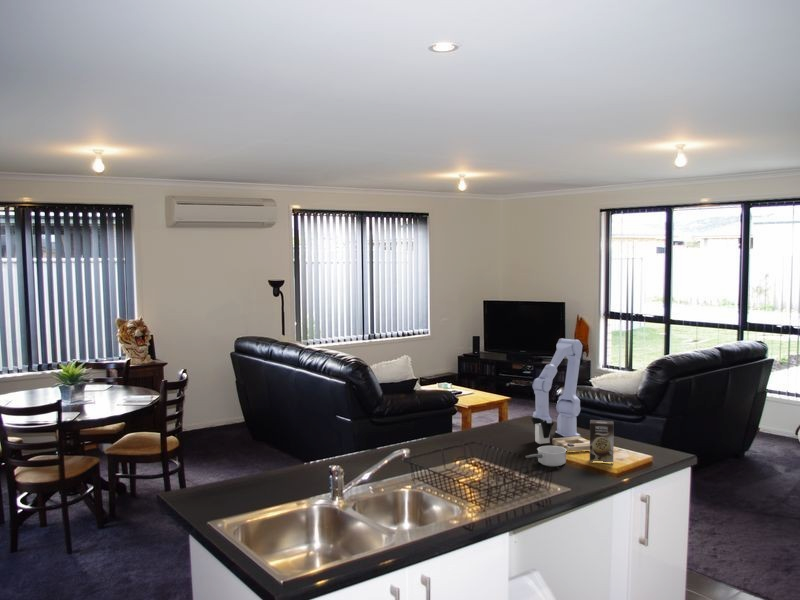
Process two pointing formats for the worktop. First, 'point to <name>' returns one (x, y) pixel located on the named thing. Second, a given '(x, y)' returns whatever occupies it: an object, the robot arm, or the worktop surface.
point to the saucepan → (550, 455)
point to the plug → (540, 435)
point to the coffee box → (601, 440)
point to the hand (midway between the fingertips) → (542, 435)
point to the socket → (572, 443)
